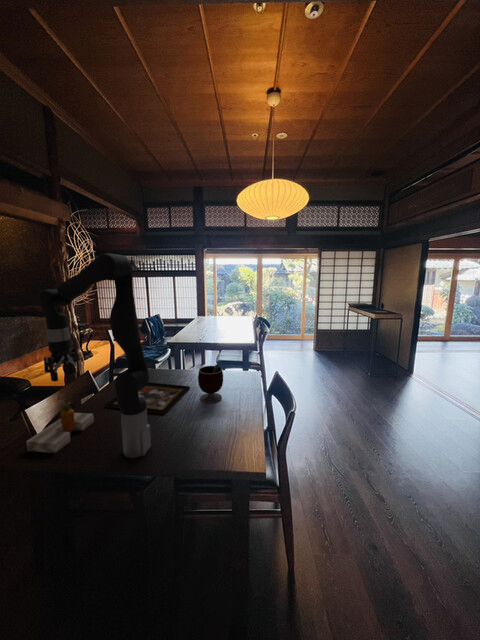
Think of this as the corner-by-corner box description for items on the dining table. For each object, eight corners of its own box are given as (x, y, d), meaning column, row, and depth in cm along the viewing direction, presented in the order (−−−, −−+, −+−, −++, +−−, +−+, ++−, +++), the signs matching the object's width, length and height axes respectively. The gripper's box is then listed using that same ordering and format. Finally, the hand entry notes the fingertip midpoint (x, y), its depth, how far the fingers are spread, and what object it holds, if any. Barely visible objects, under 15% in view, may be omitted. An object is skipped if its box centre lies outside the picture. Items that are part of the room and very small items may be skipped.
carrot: (61, 435, 109) (57, 402, 107) (74, 430, 113) (71, 398, 111) (63, 440, 106) (60, 405, 104) (77, 435, 109) (74, 402, 107)
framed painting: (191, 386, 160) (191, 382, 160) (171, 416, 126) (171, 411, 125) (134, 384, 164) (134, 380, 163) (99, 413, 129) (98, 408, 129)
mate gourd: (211, 407, 134) (210, 370, 130) (193, 399, 142) (192, 365, 139) (230, 396, 146) (230, 363, 143) (212, 390, 154) (212, 358, 151)
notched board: (94, 421, 120) (93, 413, 119) (55, 453, 98) (54, 443, 97) (70, 420, 121) (69, 412, 120) (27, 450, 99) (26, 441, 99)
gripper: (53, 343, 95) (58, 384, 98) (80, 335, 109) (84, 371, 112) (35, 343, 96) (40, 383, 99) (64, 334, 110) (68, 370, 113)
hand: (63, 377), depth 105 cm, fingers open, 8 cm apart
